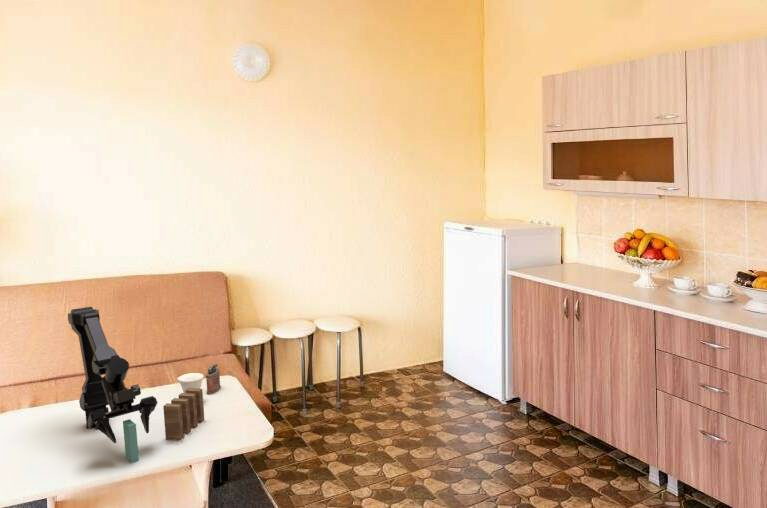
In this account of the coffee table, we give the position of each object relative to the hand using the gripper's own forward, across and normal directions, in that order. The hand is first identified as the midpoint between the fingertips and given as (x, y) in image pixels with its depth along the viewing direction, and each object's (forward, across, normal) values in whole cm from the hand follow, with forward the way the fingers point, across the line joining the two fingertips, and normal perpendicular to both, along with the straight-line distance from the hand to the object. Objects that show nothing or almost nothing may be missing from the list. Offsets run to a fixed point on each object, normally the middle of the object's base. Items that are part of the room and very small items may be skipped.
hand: (132, 437), depth 175 cm
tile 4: (+1, +15, +9) cm, 17 cm away
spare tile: (+4, 0, +6) cm, 7 cm away
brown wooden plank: (-3, +22, +12) cm, 25 cm away
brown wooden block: (-1, +18, +11) cm, 21 cm away
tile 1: (-5, +25, +14) cm, 30 cm away
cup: (-16, +31, +26) cm, 44 cm away
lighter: (-20, +43, +30) cm, 56 cm away
